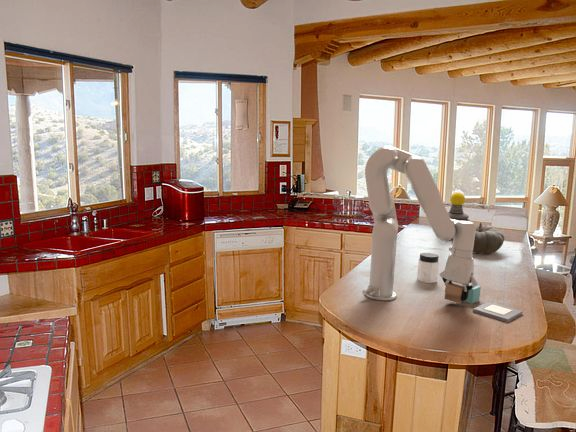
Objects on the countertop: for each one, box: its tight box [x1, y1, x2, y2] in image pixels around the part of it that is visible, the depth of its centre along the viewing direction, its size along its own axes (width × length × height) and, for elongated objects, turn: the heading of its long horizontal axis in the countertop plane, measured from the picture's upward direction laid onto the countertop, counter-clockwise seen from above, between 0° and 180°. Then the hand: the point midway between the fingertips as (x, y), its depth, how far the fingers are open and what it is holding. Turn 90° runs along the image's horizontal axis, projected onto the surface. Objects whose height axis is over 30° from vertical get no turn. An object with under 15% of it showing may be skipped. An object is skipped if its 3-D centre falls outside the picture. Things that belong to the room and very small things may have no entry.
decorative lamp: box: [447, 192, 471, 241], centre depth 315 cm, size 19×19×30 cm
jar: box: [416, 252, 440, 284], centre depth 218 cm, size 9×8×12 cm
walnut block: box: [444, 281, 467, 304], centre depth 187 cm, size 6×6×6 cm
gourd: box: [473, 222, 505, 256], centre depth 278 cm, size 25×25×17 cm
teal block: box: [463, 283, 482, 304], centre depth 193 cm, size 6×6×6 cm
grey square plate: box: [472, 301, 524, 323], centre depth 180 cm, size 13×13×1 cm
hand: (455, 297), depth 188 cm, fingers closed on walnut block, 6 cm apart
